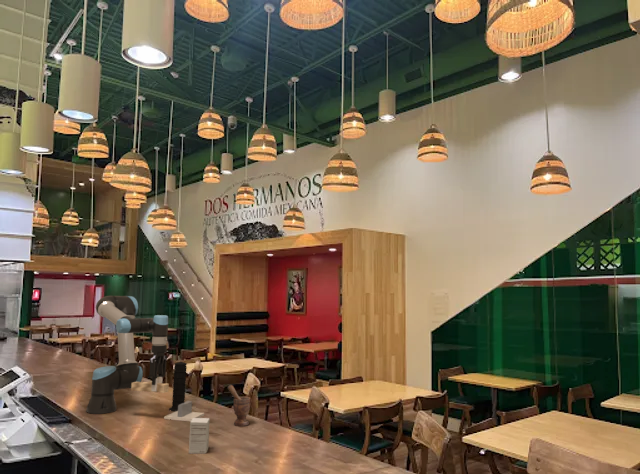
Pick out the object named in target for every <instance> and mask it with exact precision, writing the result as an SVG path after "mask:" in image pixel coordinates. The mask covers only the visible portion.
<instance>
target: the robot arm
mask: <svg viewBox="0 0 640 474" xmlns="http://www.w3.org/2000/svg"><path fill="white" fill-rule="evenodd" d="M95 311H96V313H97V315H98V316H100V317H102V318H106V319H107V320H109V321H110V322H111V323H113V324H114V325H115V330H116V331H117V344H118V346H117V349H118V350H117V351H118V364H117V365H116V366H115V365H107V366H101V367H97V368H95V369H94V370H93V372H92V376H91V380H92V381H91V394H90V398H89V401H88V404H87V406H86V413H87V412H88V414H93V415H94V414H95V415H97V414H98V415H100V414H109V413H113V412H115V411H117V402H116V399H115V391H116V390H117V391H118V390H124V389H131V385H132V383H133V382H143V381H142V380H143V376H144V375H143V373H144V372H143V368H142V366H140V365H139V362H138V361H136V357H135V342H134V341H135V340H134V334H136V333H138V334H140V333H152V337H151V338H152V339H151V344H152V345H151V353H153V354H152V357H150V358H149V379H151V383H152V389H151V391H157V383H163V378H164V377H165V375H166V371H167V360H168V356H167V355H165V353H166V352H167V348H168V347H167V344H168V332H169V330H168V329H169V316H168V315H166V314H165V315H163V314H161V315H160V314H157V315H156V314H155V315H154V316H153V317H146V318H145V317H142V318H136V315H137V314H138V312H139V302H138V300H137V298H135V296H131V295H105V296H103V297H102V298H99V300H98V301H97V302H96V305H95Z"/></svg>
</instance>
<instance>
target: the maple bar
mask: <svg viewBox="0 0 640 474" xmlns="http://www.w3.org/2000/svg"><path fill="white" fill-rule="evenodd" d="M169 384H170V383H163V382H162V383H157V391H151V389H152V382H149V381H148V382H147V381H145V382H144V381H141V382H133V383H132V385H131V388H130V390H131V392H133V391H134V392H147V393H161V394H165V393H169V387H170V386H169Z"/></svg>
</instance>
